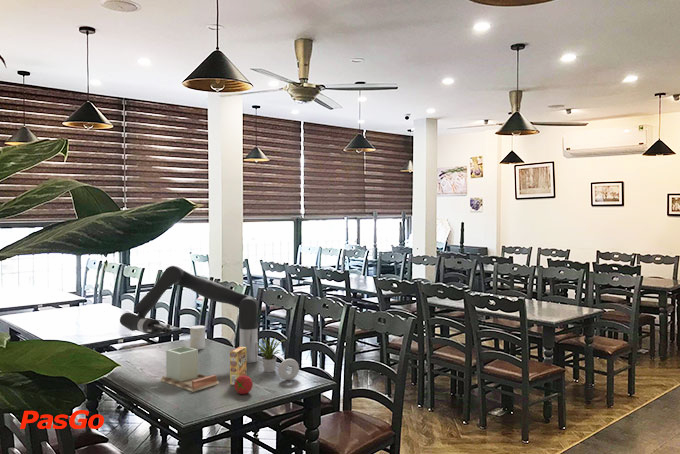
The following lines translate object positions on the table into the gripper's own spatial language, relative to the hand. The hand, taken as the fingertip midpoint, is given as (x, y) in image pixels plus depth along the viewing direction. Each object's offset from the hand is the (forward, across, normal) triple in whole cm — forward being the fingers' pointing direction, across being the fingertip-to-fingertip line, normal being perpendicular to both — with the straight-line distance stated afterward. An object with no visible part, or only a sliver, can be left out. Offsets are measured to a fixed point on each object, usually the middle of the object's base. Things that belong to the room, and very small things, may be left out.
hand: (169, 331), depth 256 cm
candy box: (+32, +14, +21) cm, 41 cm away
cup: (-34, +42, +22) cm, 58 cm away
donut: (+48, +31, +21) cm, 61 cm away
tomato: (+46, +5, +21) cm, 51 cm away
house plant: (+30, +38, +21) cm, 53 cm away
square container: (+10, 0, +20) cm, 22 cm away
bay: (+15, 0, +21) cm, 26 cm away
